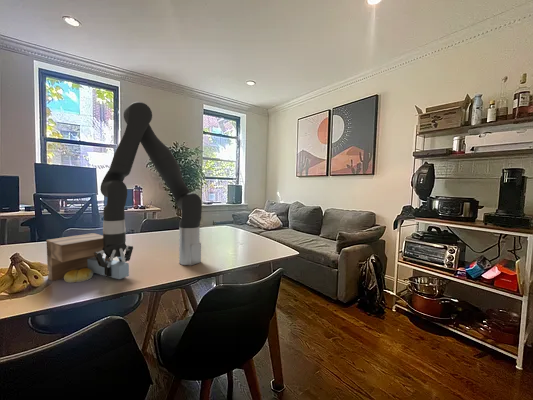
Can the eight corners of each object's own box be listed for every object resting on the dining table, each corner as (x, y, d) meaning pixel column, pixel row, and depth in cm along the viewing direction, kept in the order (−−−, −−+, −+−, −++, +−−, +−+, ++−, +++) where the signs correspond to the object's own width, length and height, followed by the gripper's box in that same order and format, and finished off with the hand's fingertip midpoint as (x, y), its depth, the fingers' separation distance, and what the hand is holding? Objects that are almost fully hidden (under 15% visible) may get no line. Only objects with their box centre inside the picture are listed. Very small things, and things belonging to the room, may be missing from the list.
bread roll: (68, 276, 99) (68, 267, 98) (95, 274, 102) (94, 264, 102) (59, 284, 91) (59, 274, 91) (88, 281, 94) (88, 271, 94)
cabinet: (110, 273, 103) (109, 237, 102) (62, 286, 89) (61, 245, 88) (94, 266, 109) (93, 233, 108) (47, 278, 96) (46, 240, 94)
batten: (128, 275, 98) (128, 263, 97) (119, 279, 94) (119, 266, 94) (97, 268, 105) (97, 256, 105) (87, 271, 102) (87, 259, 101)
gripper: (99, 235, 89) (100, 282, 90) (137, 229, 101) (138, 270, 102) (89, 233, 92) (90, 278, 94) (127, 227, 105) (127, 267, 106)
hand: (115, 274), depth 98 cm, fingers closed on batten, 4 cm apart
